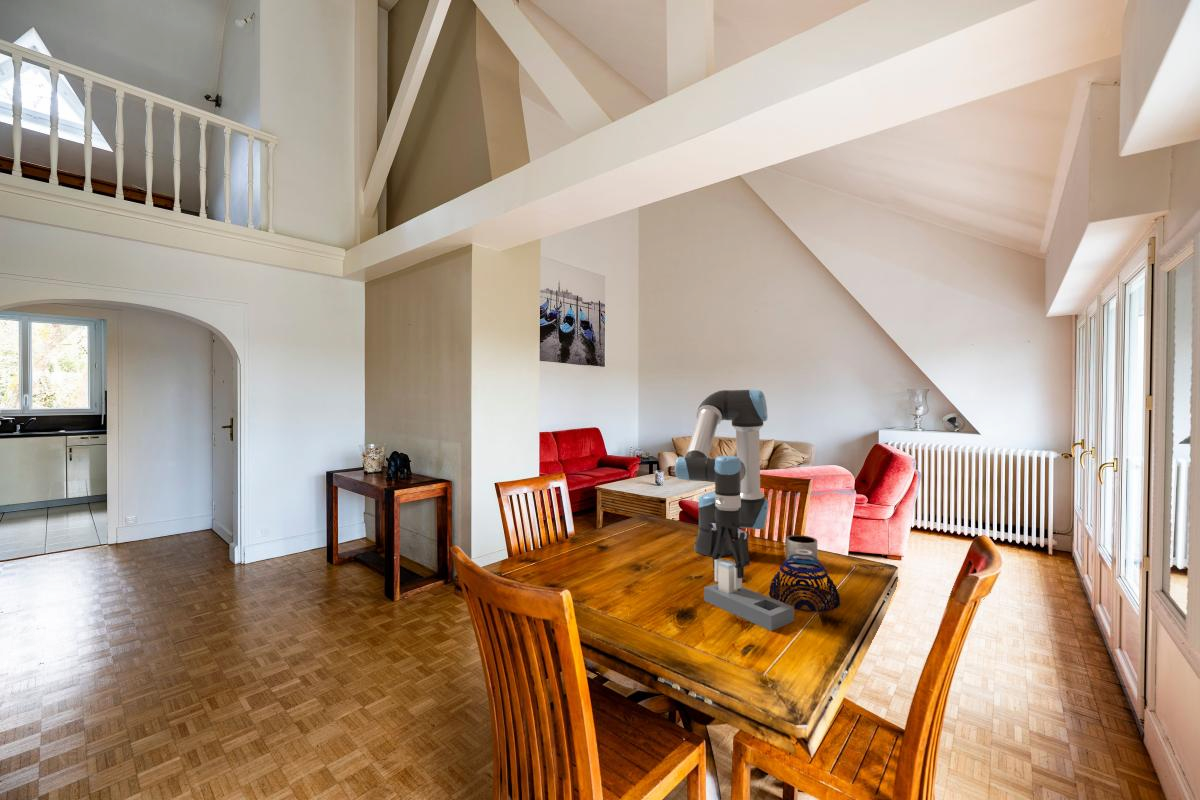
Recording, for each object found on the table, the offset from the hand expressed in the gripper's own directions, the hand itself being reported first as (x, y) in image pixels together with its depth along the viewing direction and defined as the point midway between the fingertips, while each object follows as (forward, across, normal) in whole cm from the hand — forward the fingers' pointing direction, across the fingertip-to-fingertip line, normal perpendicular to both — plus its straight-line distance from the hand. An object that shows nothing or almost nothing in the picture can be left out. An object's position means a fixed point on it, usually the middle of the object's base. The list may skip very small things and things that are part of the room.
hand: (728, 584), depth 150 cm
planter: (+6, -7, +48) cm, 49 cm away
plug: (+6, 0, 0) cm, 6 cm away
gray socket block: (+6, +7, 0) cm, 9 cm away
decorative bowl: (+6, +11, +22) cm, 25 cm away
